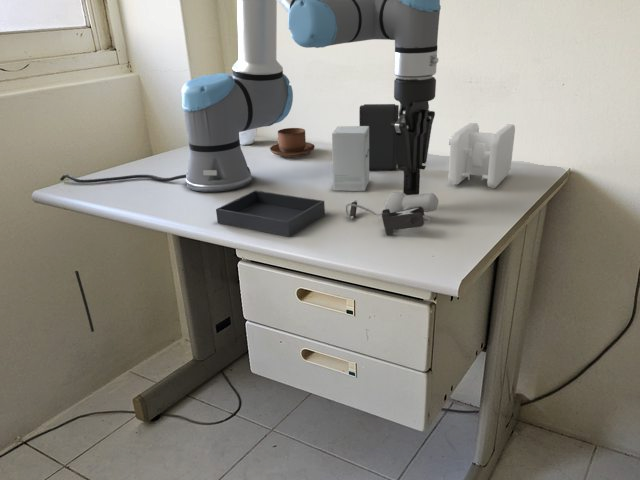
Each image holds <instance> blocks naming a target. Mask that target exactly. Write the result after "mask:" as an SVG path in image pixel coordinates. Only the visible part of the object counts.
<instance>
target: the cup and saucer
mask: <svg viewBox="0 0 640 480" xmlns="http://www.w3.org/2000/svg"><path fill="white" fill-rule="evenodd" d="M306 139H307V138H306V129H304V128H302V127H287V128H282V129H279V130H277V141H278V143H276V144H273V145H272V146H270V148H269V149H270V152H272V154H274V155H276V156H279V157H287V158H294V157H301V156H306V155H308V154H310V153H312V152H313V151H314V150H315V148H316V147H315V144H314V143H311V142H307V141H306Z"/></svg>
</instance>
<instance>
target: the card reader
mask: <svg viewBox="0 0 640 480" xmlns="http://www.w3.org/2000/svg"><path fill="white" fill-rule="evenodd" d="M399 109H400V104H395V103H376V104H375V103H368V104H366V103H365V104H363V105H360V106H359V113H358V114H359V120H358V121H359V126H369V171H393V170H397V160H396V151H395V141H394V134H393V131H392V128H391V124H392V122H397V121H398V119H399Z"/></svg>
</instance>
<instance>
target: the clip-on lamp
mask: <svg viewBox="0 0 640 480" xmlns="http://www.w3.org/2000/svg"><path fill="white" fill-rule="evenodd" d="M349 206H350V210H348V207H349ZM438 206H439V198H438V196H437V195H436V194H435V193H433V192H430V193H429V192H428V193H419V194H417V195H406V194H404V193H403V192H401V191H394V192H392V193H390V194H389V195H388V196H387V199H386V200H385V203H384V209H382V211H379V212H376V211H374V210H371V209H369V208H367V207H364V206H362V205H360V204H358V200H357V199H354V200H353V201H352V202H351V203H348V204H346V205H345V207H344V209H345V213H346V216H347V217H348V218H349V220H353V219H354V218H356V215H357V208H359V209H361V210H363V211H366V212H368V213H370V214H373V215H375V216H378V217H381V219H382V223H383V227H384V231H385V234H386V236H393V235H394V231H398V230H407V229H415V228H421V227H423V226H424V225H425V220H426V221H427V222H430V221H431V218H430V217H429V216H427V215H425V213H430V212H434V211H436V210H437V208H438Z"/></svg>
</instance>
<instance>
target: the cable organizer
mask: <svg viewBox="0 0 640 480" xmlns="http://www.w3.org/2000/svg"><path fill="white" fill-rule="evenodd" d="M515 134H516V126H515V124H509V123H508V124H505V126H503V127H501V128H500V129H499V130H498V131H497V132H496V133H493V132H490V133H489V132H481V131H480V126H479V123H477V122H469V123H467V124H465V126H463V127H461V128H460V129H458V130H457V131H456V132H454V133H453V134H452V135H451V138H449V140H448V145H449V147H450V148H449V149H450V150H449V162H448V176H447V177H448V180H447V181H448V184H452V185H455V186H457V185H459V184H460V183H461V182H462V181H463V180H465V179H466V178H467V180H470V177H471V176H476V177H477V176H479V177H481V181H484V180H487V183H486V184H487V187H489V188H491V189H496V188H497V187H498V186H499V185H500V183H502V181H503V180H505V179H506V177H507V176H508V175H509V174H510V171H511V168H512V161H513V151H514V144H515Z"/></svg>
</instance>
